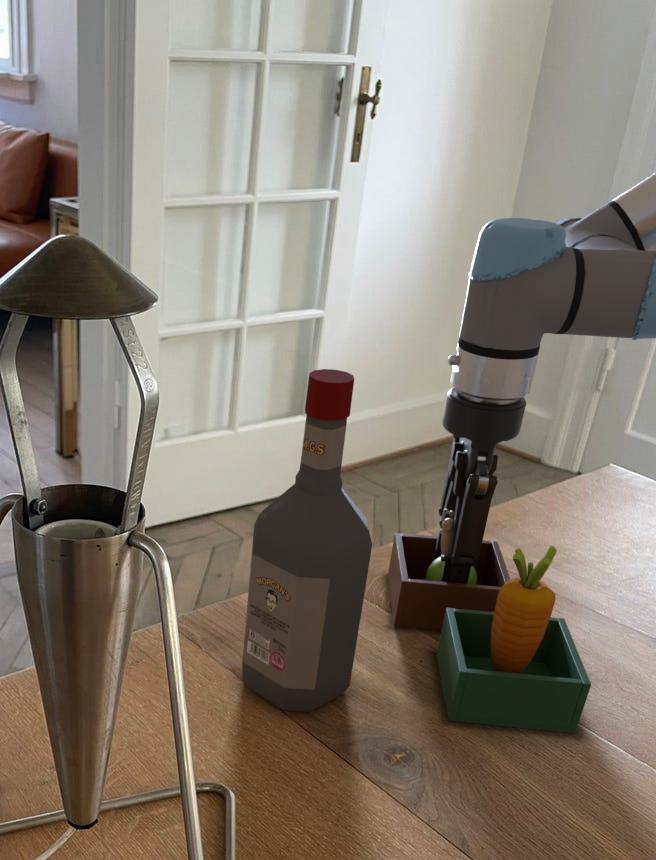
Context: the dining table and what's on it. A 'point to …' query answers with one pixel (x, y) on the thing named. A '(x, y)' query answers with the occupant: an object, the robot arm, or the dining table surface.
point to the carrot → (521, 615)
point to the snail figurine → (446, 553)
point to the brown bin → (438, 583)
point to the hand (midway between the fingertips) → (444, 597)
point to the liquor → (308, 567)
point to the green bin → (510, 677)
